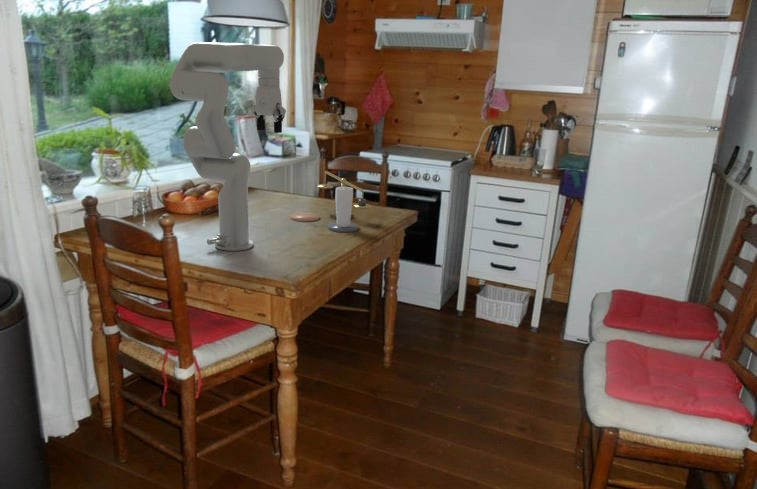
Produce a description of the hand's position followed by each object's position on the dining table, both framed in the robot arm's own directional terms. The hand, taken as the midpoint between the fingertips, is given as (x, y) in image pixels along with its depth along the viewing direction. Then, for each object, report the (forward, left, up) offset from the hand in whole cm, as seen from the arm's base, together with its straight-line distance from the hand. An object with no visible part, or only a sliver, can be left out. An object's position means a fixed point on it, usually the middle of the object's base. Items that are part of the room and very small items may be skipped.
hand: (269, 131), depth 204 cm
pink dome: (+19, +1, -36) cm, 41 cm away
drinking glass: (+20, -20, -36) cm, 45 cm away
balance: (+32, -8, -36) cm, 49 cm away
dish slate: (+20, -20, -36) cm, 46 cm away
